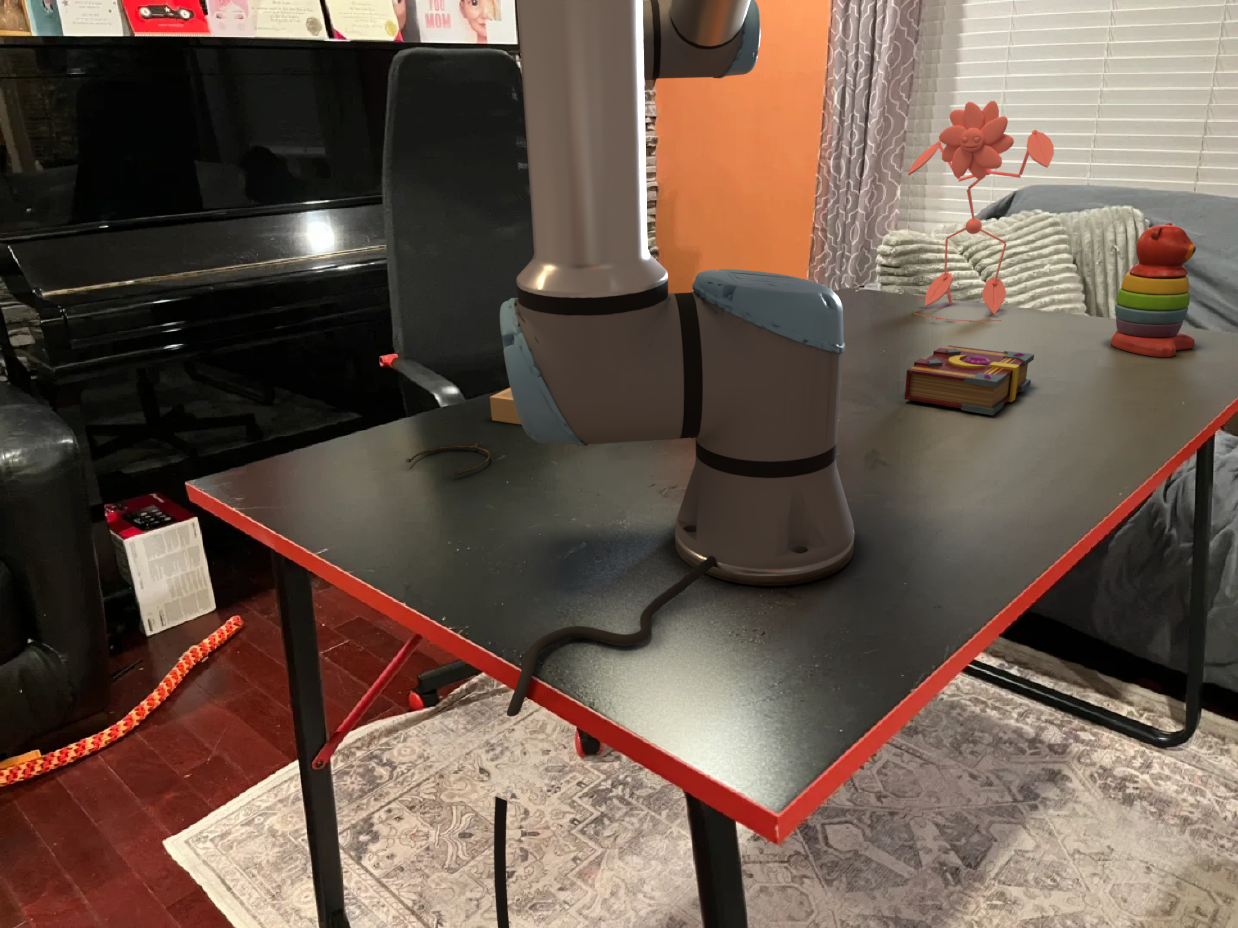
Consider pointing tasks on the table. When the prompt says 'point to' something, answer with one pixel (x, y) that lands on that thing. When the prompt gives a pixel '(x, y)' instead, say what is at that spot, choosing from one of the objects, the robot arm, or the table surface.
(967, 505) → the table surface
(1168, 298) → the stacking bear
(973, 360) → the decorative book
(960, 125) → the figurine
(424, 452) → the accessory
